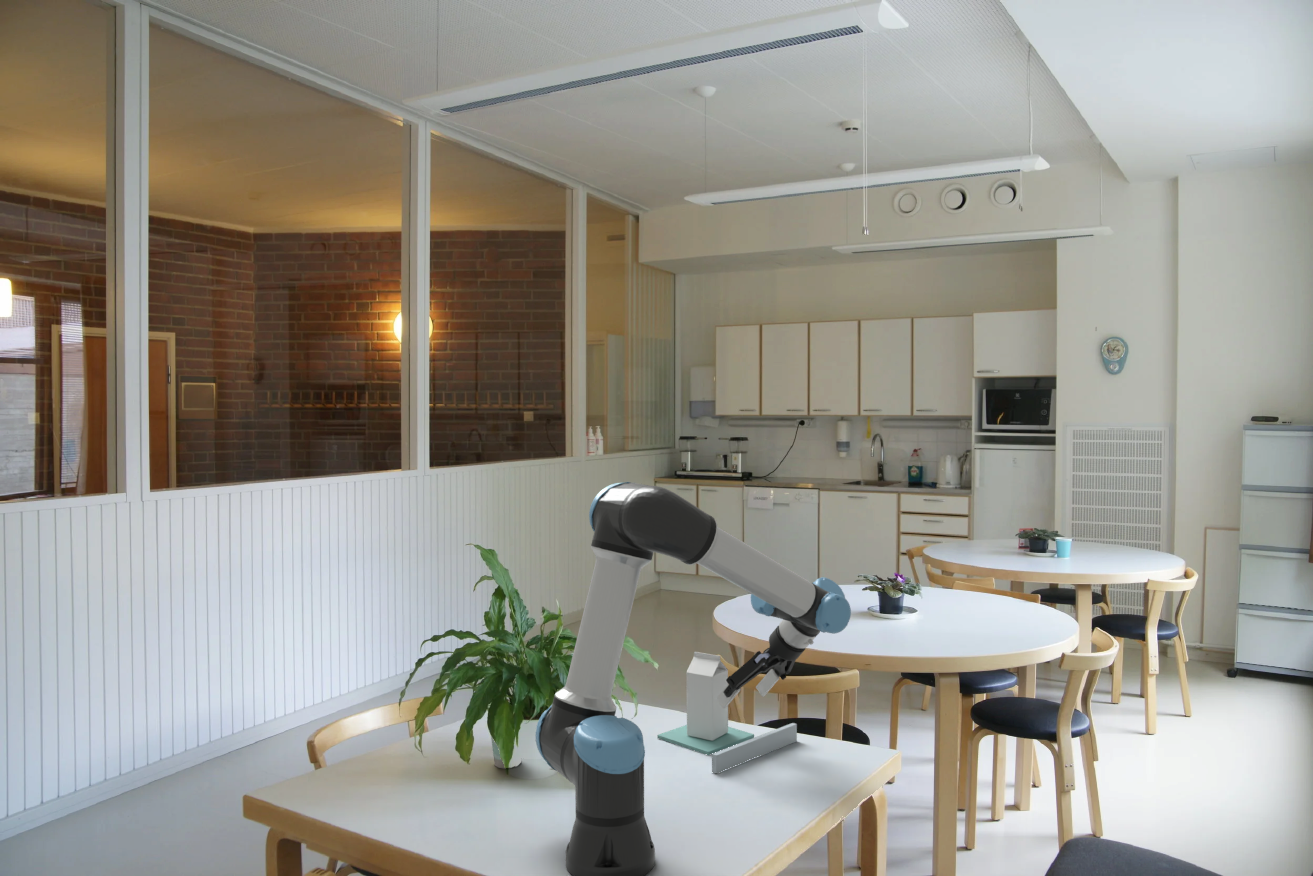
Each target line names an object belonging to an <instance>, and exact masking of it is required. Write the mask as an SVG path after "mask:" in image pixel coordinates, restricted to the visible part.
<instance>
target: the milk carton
mask: <svg viewBox="0 0 1313 876" xmlns="http://www.w3.org/2000/svg"><path fill="white" fill-rule="evenodd" d="M685 673H686V725H687V735H688V736H693V737H697V738H702V739H706V740H711V741H713V740H715V739H717V738H719V737H720V736H722V735H724V734H726V733H728V727H729V705H728V706H727V707H726V708H724V709H723V707H722V706H721V704H720V703H719V701H718V700H717V697H718V696H719V695H720V694H721V693H722V691H723V690H724V689H725V688H726V687H727V685H728V683H727V681H726V679H727V678H728V677H729V671H728V668H727V667H726V665H725V664H724V663H723V661H722V660H721V655H718V654H717V655H716V654H712V653H711V654H710V653H704V652H699V651H694V652H693V658H692V660H691V662H690V663H689V666H688V668H687V670H686V672H685Z"/></svg>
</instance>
